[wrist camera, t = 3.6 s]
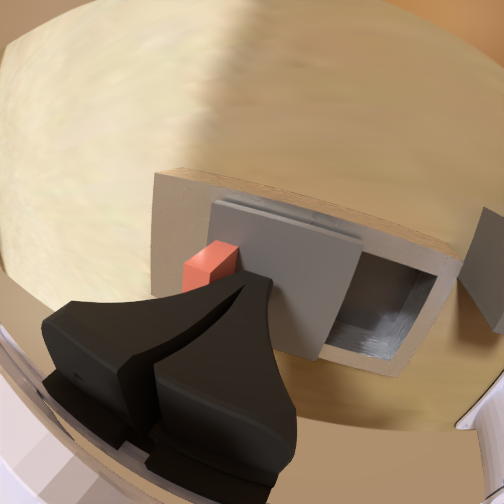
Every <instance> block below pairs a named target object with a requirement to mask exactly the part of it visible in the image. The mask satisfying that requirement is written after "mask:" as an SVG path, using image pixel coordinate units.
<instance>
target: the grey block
mask: <svg viewBox="0 0 504 504" xmlns="http://www.w3.org/2000/svg"><path fill="white" fill-rule="evenodd" d="M457 278H458V279H459V280H460V282H461V283H462V285H463V286H464V287H465V289H466V290H467V292H468V293H469V295H470V296H471V298H472V299H473V301H474V302H475V304H476V305H477V307H478V309H479V310H480V312H481V313H482V315H483V317H484V318H485V320H486V322H487V323H488V325H489V327H490V328H491V330H492V332H495V333H498V334H502V335H504V217H502V216H500V215H498V214H497V213H495V212H493V211H491V210H489V209H487V208H485V207H483V211H482V214H481V217H480V220H479V223H478V226H477V229H476V232H475V235H474V237H473V240H472V243H471V245H470V248H469V250H468V253H467V255H466V258H465V260H464V263H463V266H462V268H461V270H460V273H459V275H458V277H457Z"/></svg>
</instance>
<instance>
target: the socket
mask: <svg viewBox="0 0 504 504" xmlns="http://www.w3.org/2000/svg"><path fill="white" fill-rule="evenodd" d="M217 200H221V201H225V202H229V203H233V204H237V205H241V206H245V207H249V208H252V209H256V210H260V211H264V212H267V213H271V214H275V215H278V216H282V217H285V218H289V219H293V220H296V221H300V222H303V223H306V224H310V225H313V226H317V227H320V228H323V229H327V230H330V231H333V232H337V233H340V234H343V235H346V236H350V237H353V238H356V239H359V240H362V241H363V244H364V247H363V250H362V252H361V255H360V258H359V261H358V264H357V266H356V269H355V272H354V274H353V277H352V280H351V282H350V285H349V287H348V290H347V292H346V295H345V297H344V300H343V302H342V305H341V307H340V309H339V312H338V314H337V316H336V319H335V321H334V323H333V326H332V328H331V330H330V332H329V335H328V337H327V339H326V341H325V343H324V345H323V347H322V350H321V352H320V354H319V356H318V358H322V359H325V360H329V361H332V362H336V363H339V364H343V365H347V366H350V367H354V368H358V369H362V370H366V371H370V372H374V373H378V374H382V375H387V376H391V377H396V378H397V377H398V376H399V375H400V373H401V372H402V371H403V369H404V368H405V366H406V365H407V364H408V362H409V361H410V359H411V358H412V356H413V355H414V353H415V352H416V350H417V349H418V347H419V346H420V344H421V343H422V341H423V340H424V338H425V336H426V335H427V333H428V331H429V330H430V328H431V326H432V325H433V323H434V321H435V320H436V318H437V316H438V314H439V312H440V311H441V309H442V307H443V305H444V303H445V301H446V299H447V297H448V295H449V294H450V292H451V290H452V287H453V285H454V283H455V281H456V279H457V277H458V275H459V273H460V270H461V268H462V266H463V263H464V261H463V260H462V259H461V258H460V257H459V255H458V254H457V253H456V252H455V251H454V250H453V249H452V248H451V247H450V246H449V245H448V244H447V243H445V242H443V241H440V240H438V239H435V238H432V237H430V236H427V235H425V234H422V233H419V232H417V231H414V230H411V229H408V228H405V227H403V226H400V225H397V224H394V223H391V222H388V221H385V220H382V219H379V218H376V217H373V216H370V215H367V214H364V213H361V212H358V211H355V210H351V209H348V208H345V207H342V206H338V205H335V204H332V203H328V202H325V201H321V200H318V199H314V198H311V197H307V196H303V195H300V194H296V193H292V192H288V191H284V190H281V189H277V188H273V187H269V186H265V185H260V184H256V183H252V182H248V181H243V180H239V179H234V178H230V177H225V176H221V175H216V174H211V173H206V172H201V171H196V170H191V169H185V168H178V169H172V170H167V171H161V172H156V173H155V176H154V188H153V203H152V224H151V295H153V296H155V297H157V298H163V297H168V296H172V295H177V294H180V293H182V285H183V268H184V263H185V262H187V261H188V260H189V259H191V258H192V257H193V256H195V255H196V254H197V253H199V252H200V251H202V250H203V249H204V248H206V245H207V237H208V228H209V220H210V213H211V205H212V202H214V201H217Z"/></svg>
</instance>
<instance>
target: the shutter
mask: <svg viewBox="0 0 504 504" xmlns="http://www.w3.org/2000/svg"><path fill="white" fill-rule="evenodd" d="M363 247H364V244H363V241H362V240H359V239H356V238H353V237H350V236H346V235H343V234H340V233H337V232H333V231H330V230H327V229H323V228H320V227H317V226H313V225H310V224H306V223H303V222H300V221H296V220H293V219H289V218H285V217H282V216H278V215H275V214H271V213H267V212H264V211H260V210H256V209H252V208H249V207H245V206H241V205H237V204H233V203H229V202H225V201H221V200H217V201H214V202H212V205H211V213H210V220H209V228H208V237H207V245H206V248H204V249H203V250H202V251H200V252H199V253H197V254H196V255H195V256H193V257H192V258H191V259H189V260H188V261H187V262H185V263H184V268H183V285H182V293H184V292H187V291H190V290H193V289H196V288H199V287H202V286H205V285H208V284H210V283H213V282H215V281H218V280H220V279H223V278H225V277H227V276H230V275H232V274H234V273H236V272H239V271H241V270H246V271H250V272H253V273H256V274H259V275H262V276H265V277H268V278H271V279H272V280H273V282H274V283H273V287H272V291H271V295H270V299H269V303H268V324H269V333H270V339H271V344H272V348H273V349H276V350H279V351H282V352H285V353H288V354H292V355H295V356H298V357H301V358H304V359H308V360H311V361H314V362H316V360H317V358H318V356H319V354H320V352H321V350H322V347H323V345H324V343H325V341H326V339H327V337H328V335H329V332H330V330H331V328H332V326H333V323H334V321H335V319H336V316H337V314H338V312H339V309H340V307H341V305H342V302H343V300H344V297H345V295H346V292H347V290H348V287H349V285H350V282H351V280H352V277H353V274H354V272H355V269H356V266H357V264H358V261H359V258H360V255H361V252H362V250H363Z"/></svg>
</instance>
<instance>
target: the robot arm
mask: <svg viewBox="0 0 504 504" xmlns="http://www.w3.org/2000/svg"><path fill="white" fill-rule="evenodd" d="M273 283H274V282H273V280H272V279H271V278H268V277H265V276H262V275H259V274H256V273H253V272H250V271H246V270H241V271H239V272H236V273H234V274H232V275H230V276H227V277H225V278H223V279H220V280H218V281H215V282H213V283H210V284H208V285H205V286H202V287H199V288H196V289H193V290H190V291H187V292H184V293H180V294H177V295H172V296H168V297H163V298H158V299H151V300H144V301H136V302H122V303H96V302H81V301H71V302H69V303H68V304H66V305H65V306H63V307H62V308H60V309H59V310H57V311H56V312H54V313H53V314H52V315H50V316H49V317H47V318H46V319H44V320H43V322H42V327H41V330H42V335H43V339H44V341H45V344H46V346H47V349H48V351H49V353H50V356H51V358H52V360H53V362H54V365H55V367H56V370H54V371H53V372H52V373H51V374H50V375H49V376H48V377H47V376H46V375H45V374H44V373H43V372H42V371H41V370H40V369H39V368H38V367H37V366H36V365H35V364H34V362H33V361H32V360H31V359H30V358H29V357H28V356H27V355H26V354H25V352H24V351H23V350H22V349H21V348H20V347H19V345H18V344H17V343H16V342H15V341H14V339H13V338H12V337H11V336H10V335H9V333H8V332H7V331H6V329H5V328H4V327H3V325H2V324H1V323H0V504H164V503H162V502H160V501H158V500H156V499H155V498H153V497H151V496H149V495H148V494H146V493H144V492H143V491H141V490H139V489H138V488H136V487H134V486H133V485H131V484H130V483H128V482H127V481H125V480H124V479H123V478H121V477H120V476H118V475H117V474H115V473H114V472H113V471H111V470H110V469H108V468H107V467H106V466H104V465H103V464H101V463H100V462H99V461H97V460H96V459H95V458H94V457H93V456H91V455H90V454H89V453H87V452H86V451H85V450H84V449H83V448H82V447H80V446H79V445H78V444H77V443H76V442H75V440H74V439H73V438H72V437H71V436H70V434H69V433H68V432H67V431H66V430H65V429H64V428H63V426H62V425H61V424H60V422H59V421H58V420H57V418H56V417H55V415H54V413H53V412H52V411H51V410H50V408H49V407H48V406H47V405H46V404H45V403H44V401H45V402H46V403H47V404H48V405H49V406H50V407H51V408H52V409H53V410H54V411H55V412H56V413H57V414H58V415H60V417H62V418H63V419H64V420H65V421H66V422H67V423H68V424H69V425H70V426H72V427H73V428H74V429H75V430H76V431H77V432H79V433H80V434H81V435H82V436H83V437H85V438H86V439H87V440H88V441H90V442H91V443H92V444H93V445H95V446H96V447H97V448H99V449H100V450H101V451H103V452H104V453H106V454H107V455H108V456H110V457H111V458H113V459H114V460H115V461H117V462H118V463H120V464H121V465H123V466H124V467H126V468H128V469H129V470H131V471H132V472H134V473H136V474H137V475H139V476H141V477H142V478H144V479H146V480H148V481H149V482H151V483H153V484H155V485H157V486H158V487H160V488H162V489H164V490H166V491H168V492H170V493H172V494H174V495H176V496H178V497H180V498H183V499H185V500H187V501H189V502H191V503H194V504H269V503H266V502H267V499H268V497H269V494H270V491H271V489H272V488H273V487H274V486H275V483H276V481H277V478H278V475H279V473H280V472H281V471H282V470H283V469H284V468H285V467H286V466H287V465H288V464H289V463H290V462H291V460H292V458H293V457H294V453H295V449H296V442H297V419H296V408H295V406H294V404H293V402H292V400H291V399H290V397H289V394H288V392H287V390H286V388H285V386H284V383H283V381H282V378H281V376H280V373H279V370H278V366H277V363H276V360H275V357H274V353H273V349H272V344H271V339H270V333H269V324H268V303H269V299H270V295H271V291H272V287H273ZM43 400H44V401H43ZM456 429H477V433H478V439H479V445H480V451H481V458H482V466H483V476H484V489H485V490H484V491H485V501H483V502H481V503H479V504H504V372H503V373H502V374H501V376H500V377H499V378H498V379H497V381H496V382H495V383H494V384H493V385H492V387H491V388H490V389H489V390H488V391H487V392H486V394H485V395H484V396H483V397H482V398H481V399H480V400H479V401H478V402H477V403H476V404H475V405H474V407H473V408H472V409H471V410H470V411H469V412H468V413H467V414H466V415H465V416H464V417H463V418H462V419H461V420H459V421H458V422H457V424H456Z"/></svg>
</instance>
